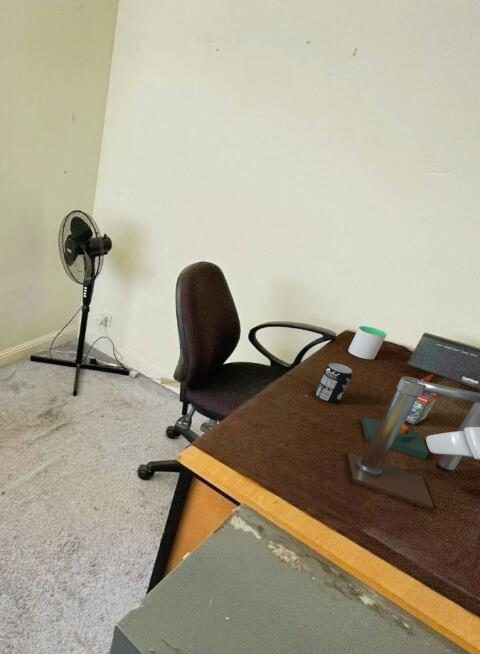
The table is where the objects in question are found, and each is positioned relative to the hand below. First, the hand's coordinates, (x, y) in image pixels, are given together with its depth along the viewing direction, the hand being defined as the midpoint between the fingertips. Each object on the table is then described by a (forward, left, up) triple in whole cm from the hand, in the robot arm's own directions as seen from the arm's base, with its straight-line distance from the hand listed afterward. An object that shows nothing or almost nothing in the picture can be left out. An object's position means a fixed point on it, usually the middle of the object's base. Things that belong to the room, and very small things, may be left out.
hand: (451, 449), depth 95 cm
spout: (+6, +1, -5) cm, 8 cm away
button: (+3, -20, -10) cm, 22 cm away
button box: (+3, -20, -13) cm, 24 cm away
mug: (+3, -82, -13) cm, 83 cm away
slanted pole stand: (+7, +2, -13) cm, 16 cm away
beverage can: (+17, -34, -13) cm, 40 cm away
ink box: (-4, -37, -14) cm, 39 cm away
